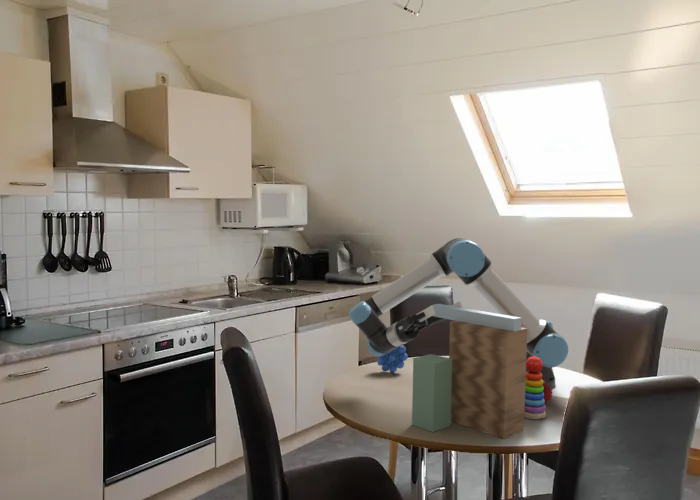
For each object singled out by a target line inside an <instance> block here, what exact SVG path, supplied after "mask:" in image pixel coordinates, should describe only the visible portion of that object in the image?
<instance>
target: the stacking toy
mask: <svg viewBox="0 0 700 500" xmlns="http://www.w3.org/2000/svg"><path fill="white" fill-rule="evenodd" d="M542 367H543V363H542V361H541V359H540V358H538V357H534V356H533V357H530V358H528V359H527V361H526V368H527V370H528V371H527V372H526V380H525V408H524V419H528V418H529V419H528V420H541V418H542V419H544V418H546V416H547V412H546V410H547V406H546V405H545V404H546V403H545V400H544V398H543V397H544V393H543V390H544V388H543V386H542V385H543V380H542V379H541V378H542V373H540V371H541V369H542ZM544 403H545V404H544Z"/></svg>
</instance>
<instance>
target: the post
mask: <svg viewBox="0 0 700 500" xmlns="http://www.w3.org/2000/svg"><path fill="white" fill-rule="evenodd" d="M412 361H413V362H412V368H413V369H412V403H411V405H412V408H411V411H412V412H411V425H412V426H414V427H417V428H421V429H423V430H426V431H428V432H431V433H434V432H437V431H440V430H443V429H445V428H449V427H451V422H452V421H451V386H452V359H450V358H449V357H447V356H441V355H437V354H432V353H430V354H425V355H422V356H417V357H413V359H412Z"/></svg>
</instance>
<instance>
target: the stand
mask: <svg viewBox="0 0 700 500" xmlns="http://www.w3.org/2000/svg"><path fill="white" fill-rule="evenodd" d="M448 351H449V353H448V358H450V359H452V386H451V422H452V423H455V424H457V425H458V424H459V425H461V426H464V427H468V428H471V429H473V430H476V431H480V432H483V433H485V434H488V435H492V436H493V437H497V438H501V439H503V438H505V439H507V438H509V437H512V436H514V435H516V434H518V432H519V433H521V432H523V431H524V430H525V429H524V427H525V417H524V408H525V380H526V353H527V328H523V327H521V330H518V331H509V330H504V329H498V328H493V327H487V326H482V325H477V324H471V323H466V322H461V321H455V320H452V321H450V322H449V349H448ZM522 430H523V431H522ZM520 431H521V432H520ZM515 433H516V434H515ZM513 434H514V435H513ZM511 435H512V436H511Z"/></svg>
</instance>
